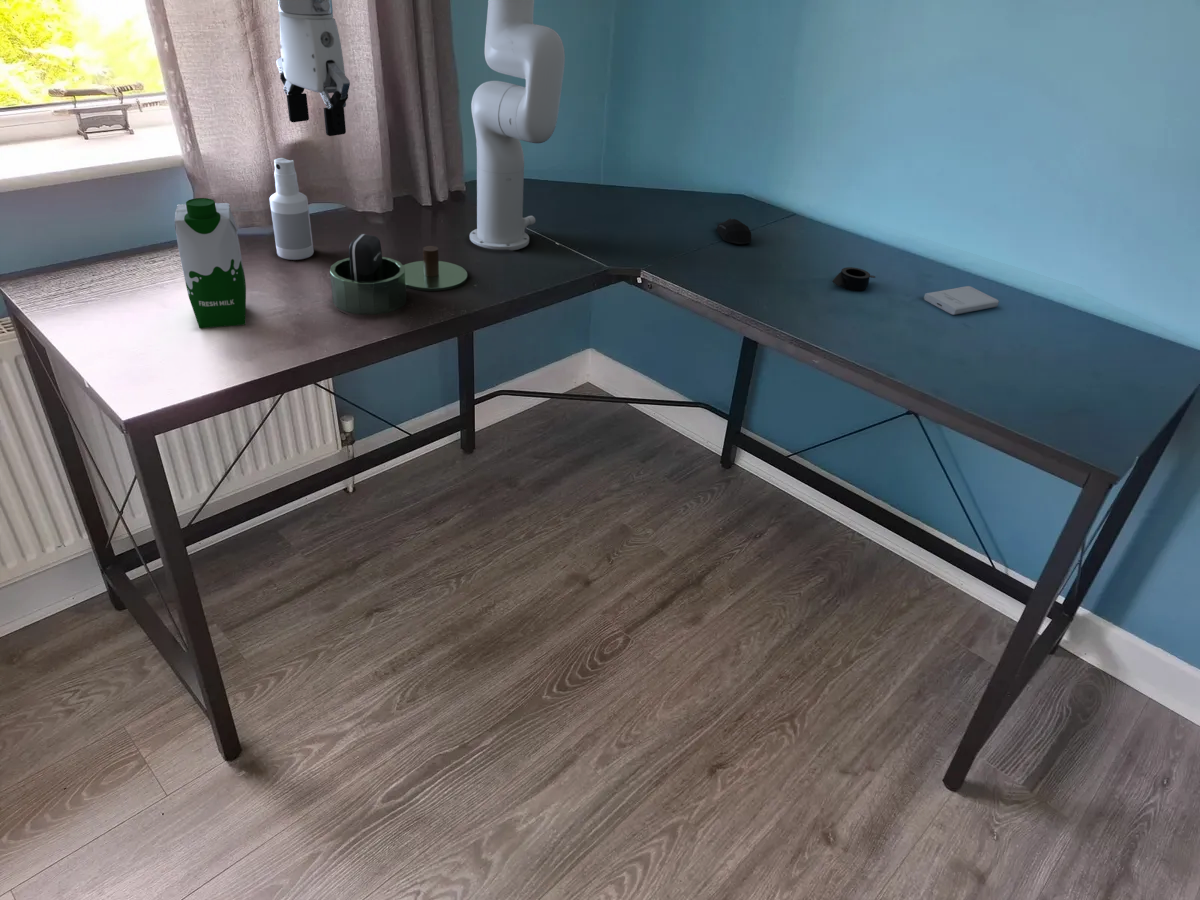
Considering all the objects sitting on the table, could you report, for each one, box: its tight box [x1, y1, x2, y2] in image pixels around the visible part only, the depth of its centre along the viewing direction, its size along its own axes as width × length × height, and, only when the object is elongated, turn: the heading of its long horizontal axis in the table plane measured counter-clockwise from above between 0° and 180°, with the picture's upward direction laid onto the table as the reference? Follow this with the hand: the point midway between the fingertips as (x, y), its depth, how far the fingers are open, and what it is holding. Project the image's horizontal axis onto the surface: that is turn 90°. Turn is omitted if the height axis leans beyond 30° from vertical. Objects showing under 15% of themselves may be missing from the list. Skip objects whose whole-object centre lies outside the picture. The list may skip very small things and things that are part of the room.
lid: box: [402, 245, 468, 292], centre depth 157 cm, size 13×13×6 cm
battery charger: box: [348, 233, 383, 282], centre depth 144 cm, size 7×4×11 cm, turn 175°
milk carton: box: [174, 197, 247, 329], centre depth 133 cm, size 9×9×20 cm
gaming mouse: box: [716, 218, 752, 245], centre depth 192 cm, size 6×15×4 cm, turn 12°
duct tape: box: [831, 266, 876, 293], centre depth 172 cm, size 8×10×3 cm
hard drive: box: [923, 285, 1000, 316], centre depth 169 cm, size 2×8×12 cm
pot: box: [329, 256, 407, 316], centre depth 146 cm, size 12×12×6 cm
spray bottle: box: [268, 157, 315, 261], centre depth 158 cm, size 7×7×18 cm
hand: (317, 127), depth 130 cm, fingers open, 9 cm apart
